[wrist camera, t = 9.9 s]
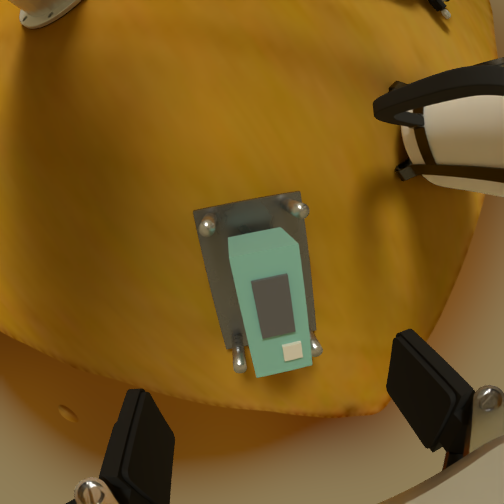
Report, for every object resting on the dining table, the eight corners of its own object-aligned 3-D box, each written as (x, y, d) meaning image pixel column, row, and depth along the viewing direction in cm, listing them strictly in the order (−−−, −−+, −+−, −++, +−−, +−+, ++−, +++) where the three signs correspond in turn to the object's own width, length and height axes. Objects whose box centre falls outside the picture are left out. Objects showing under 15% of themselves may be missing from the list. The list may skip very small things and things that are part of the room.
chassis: (193, 210, 26) (185, 219, 20) (297, 191, 26) (317, 195, 21) (226, 345, 30) (227, 378, 24) (314, 326, 30) (330, 355, 25)
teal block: (227, 237, 23) (229, 259, 17) (280, 226, 24) (299, 244, 18) (249, 338, 26) (257, 380, 20) (295, 327, 26) (313, 367, 20)
